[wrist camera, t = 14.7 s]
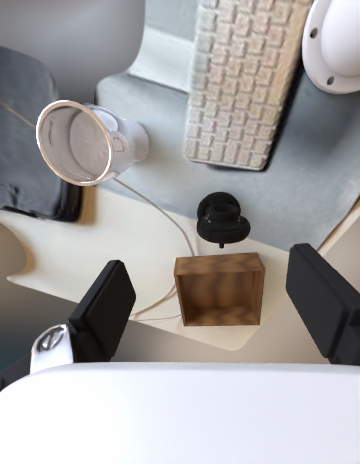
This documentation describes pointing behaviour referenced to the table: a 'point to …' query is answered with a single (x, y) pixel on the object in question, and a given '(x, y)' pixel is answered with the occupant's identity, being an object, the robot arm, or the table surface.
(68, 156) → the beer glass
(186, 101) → the table surface
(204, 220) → the webcam
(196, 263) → the wooden box
